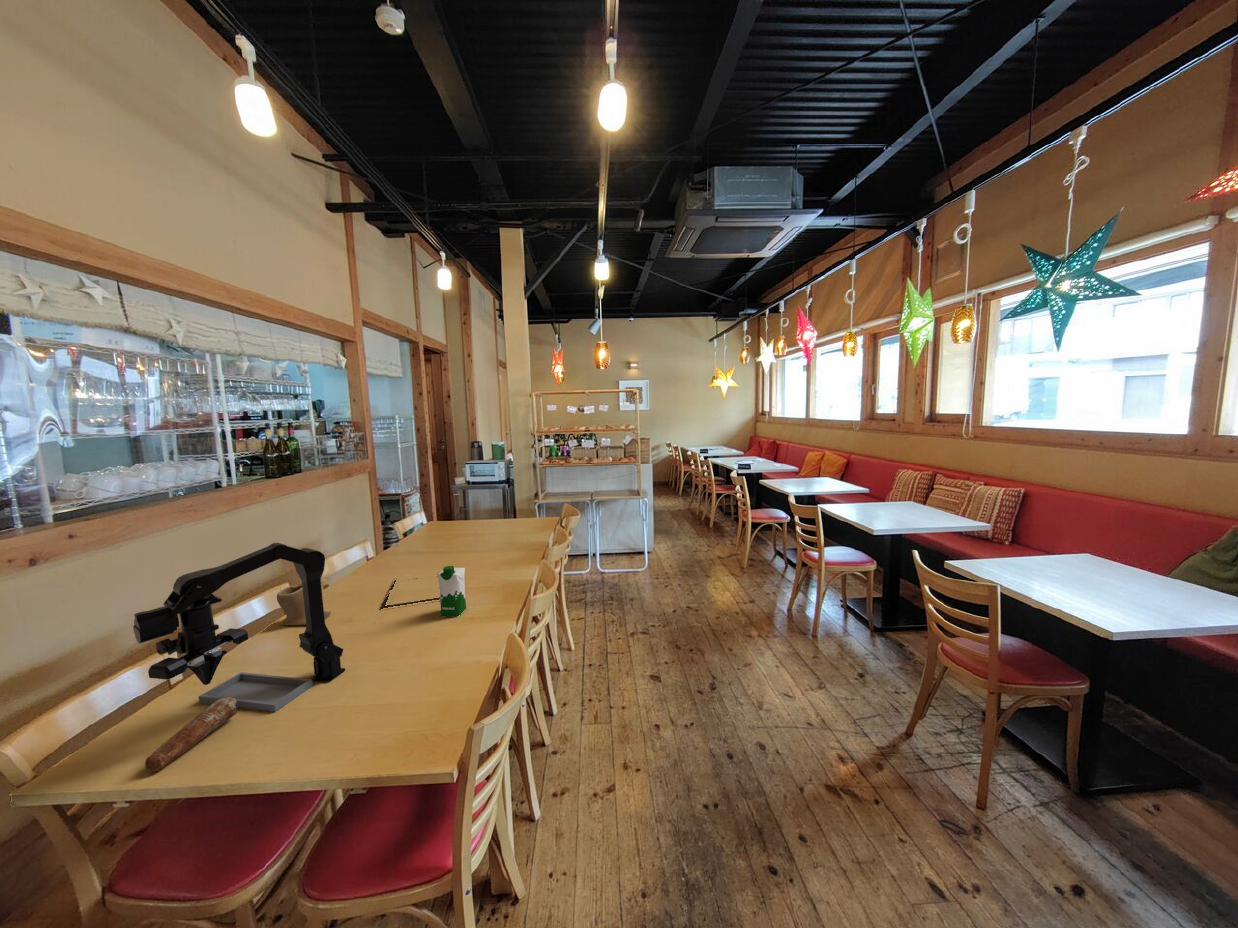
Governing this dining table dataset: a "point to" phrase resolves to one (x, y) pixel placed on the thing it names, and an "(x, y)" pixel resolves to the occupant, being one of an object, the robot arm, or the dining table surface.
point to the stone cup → (293, 605)
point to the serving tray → (258, 691)
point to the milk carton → (452, 591)
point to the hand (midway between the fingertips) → (206, 683)
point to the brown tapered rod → (192, 733)
